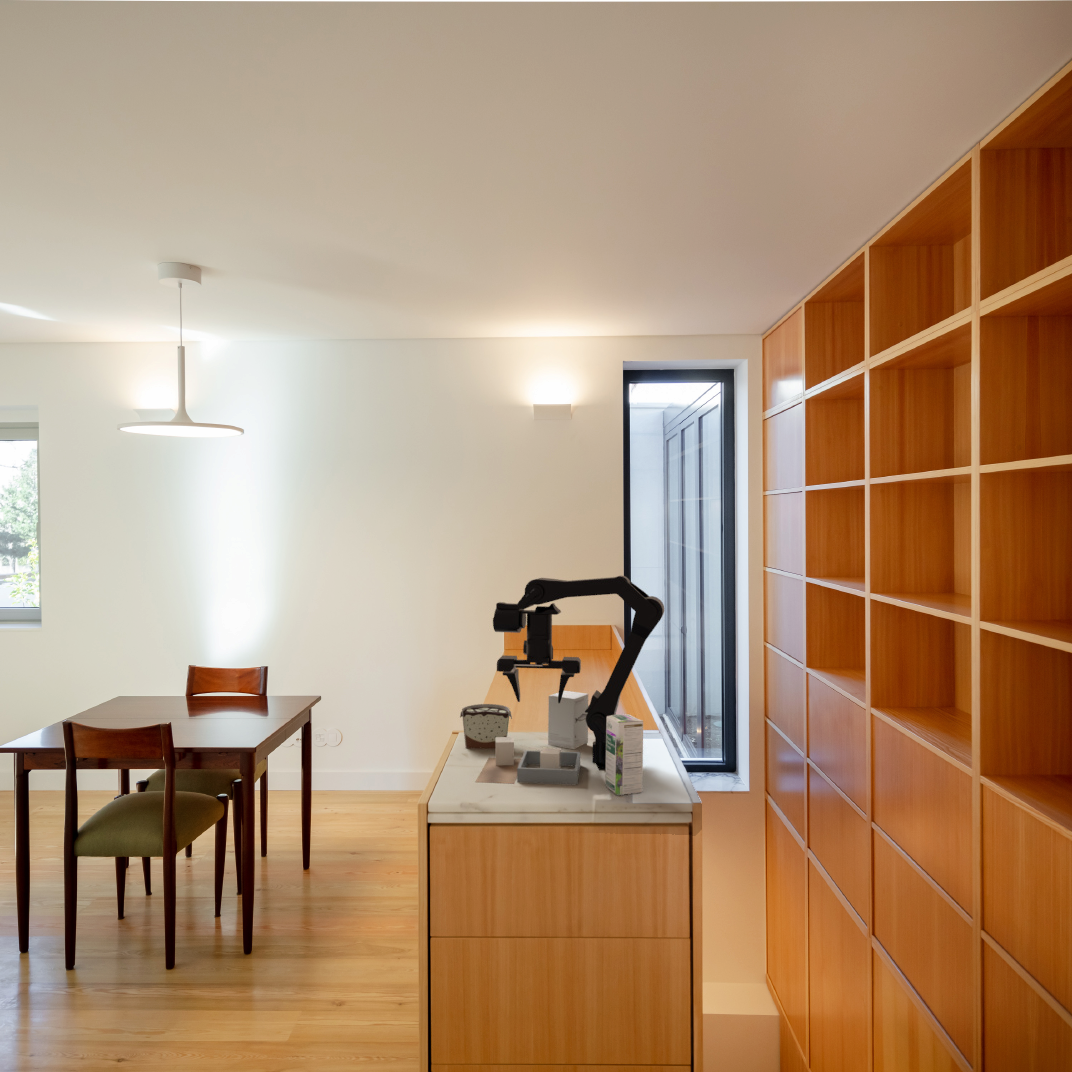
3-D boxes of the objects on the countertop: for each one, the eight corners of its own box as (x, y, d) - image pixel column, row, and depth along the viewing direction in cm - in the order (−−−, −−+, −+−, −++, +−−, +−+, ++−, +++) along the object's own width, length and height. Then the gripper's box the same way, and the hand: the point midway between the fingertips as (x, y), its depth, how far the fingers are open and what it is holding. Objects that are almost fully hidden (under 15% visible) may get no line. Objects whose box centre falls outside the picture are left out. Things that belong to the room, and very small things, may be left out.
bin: (580, 768, 155) (580, 752, 155) (577, 788, 143) (577, 770, 143) (524, 766, 157) (524, 750, 157) (517, 786, 145) (517, 768, 145)
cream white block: (513, 759, 159) (513, 737, 159) (513, 765, 155) (514, 742, 155) (495, 759, 159) (495, 737, 159) (495, 765, 155) (495, 742, 155)
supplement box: (573, 752, 167) (574, 699, 167) (547, 747, 171) (547, 694, 171) (589, 745, 173) (589, 693, 173) (562, 740, 177) (563, 689, 177)
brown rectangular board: (524, 762, 160) (524, 758, 160) (514, 787, 144) (514, 783, 144) (489, 761, 161) (489, 757, 161) (475, 785, 145) (475, 781, 145)
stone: (560, 771, 152) (560, 748, 152) (559, 778, 148) (559, 753, 148) (541, 770, 152) (542, 747, 152) (540, 777, 148) (540, 753, 148)
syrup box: (604, 787, 144) (604, 715, 144) (629, 783, 147) (630, 712, 147) (617, 796, 139) (618, 722, 139) (644, 792, 141) (644, 719, 141)
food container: (515, 745, 173) (515, 704, 173) (511, 753, 167) (511, 710, 166) (464, 743, 174) (465, 702, 174) (459, 751, 168) (459, 708, 168)
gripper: (582, 629, 169) (581, 695, 169) (504, 628, 171) (503, 693, 171) (579, 636, 158) (579, 706, 158) (496, 634, 160) (496, 704, 160)
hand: (539, 702), depth 162 cm, fingers open, 9 cm apart
